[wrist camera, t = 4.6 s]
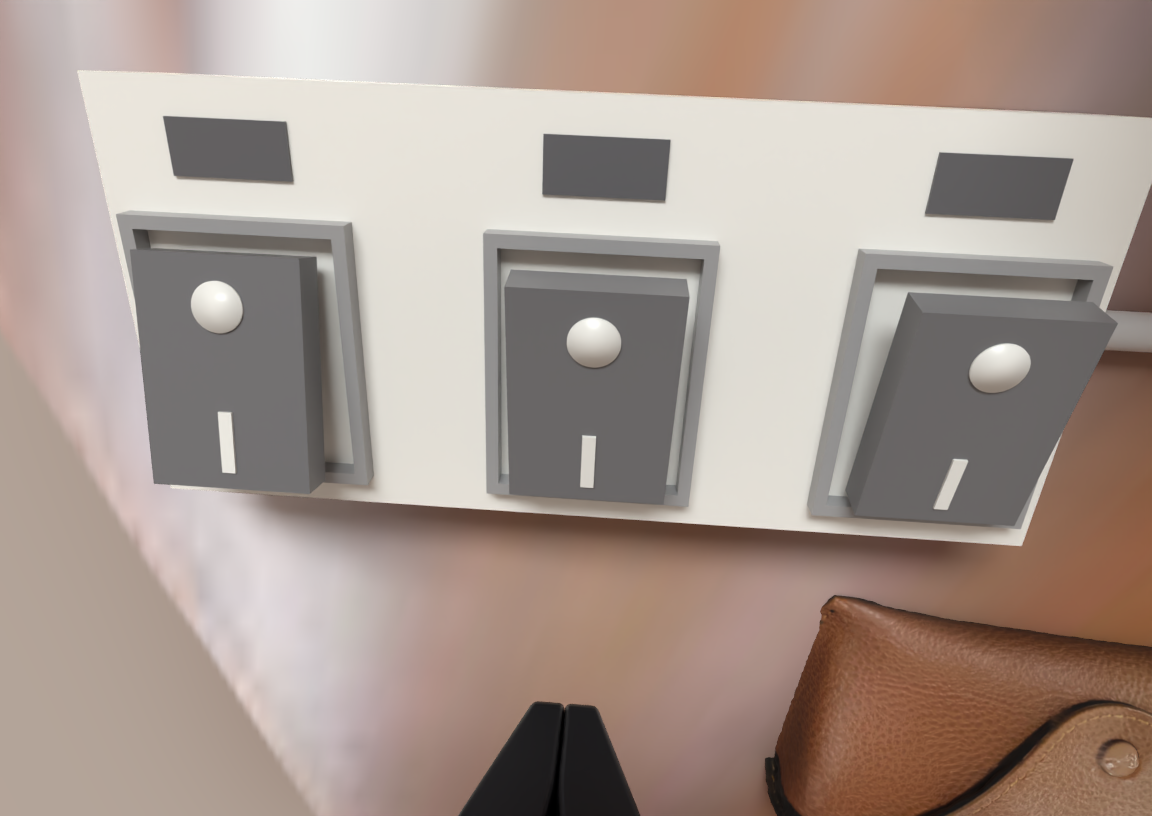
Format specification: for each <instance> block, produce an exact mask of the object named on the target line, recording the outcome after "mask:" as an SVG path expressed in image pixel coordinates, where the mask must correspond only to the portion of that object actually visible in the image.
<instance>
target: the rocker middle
mask: <svg viewBox="0 0 1152 816" xmlns="http://www.w3.org/2000/svg"><path fill="white" fill-rule="evenodd" d="M504 297H505V337H506V378H507V419H508V460H509V494H513V495H527V496H542V497H557V498H572V499H587V500H602V501H617V502H632V503H647V504H662V505H664V498H665V490H666V482H667V474H668V466H669V458H670V450H671V442H672V434H673V426H674V418H675V410H676V402H677V394H678V386H679V378H680V370H681V362H682V354H683V346H684V338H685V330H686V322H687V315H688V307H689V299H690V296H689V290H688V284H687V279H677V278H659V277H641V276H622V275H604V274H586V273H567V272H549V271H531V270H512V269H511V270H510V273H509V276H508V278H507V281H506V283H505V286H504Z"/></svg>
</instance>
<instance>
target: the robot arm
mask: <svg viewBox="0 0 1152 816" xmlns="http://www.w3.org/2000/svg"><path fill="white" fill-rule="evenodd" d="M458 816H640V814H639V811H638V809H637V806H636V804H635V801H634V798H633V796H632V793H631V791H630V788H629V786H628V783H627V781H626V778H625V776H624V773H623V771H622V768H621V766H620V763H619V761H618V758H617V756H616V753H615V751H614V748H613V746H612V743H611V741H610V738H609V736H608V733H607V731H606V728H605V725H604V723H603V720H602V718H601V715H600V713H599V711H598V709H597V708H596V707H595V706H591V705H578V704H569V705H567V706H566V708H565V710H564V706H563V705H562V704H560V703H552V702H539V701H538V702H534V703H533V704H532V705H531V706H530V707H529V709H528V710H527V712H526V713H525V715H524V716H523V718H522V719H521V721H520V722H519V724H518V725H517V727H516V728H515V730H514V731H513V733H512V735H511V736H510V738H509V739H508V741H507V742H506V744H505V745H504V747H503V748H502V750H501V751H500V753H499V754H498V756H497V757H496V759H495V760H494V762H493V763H492V765H491V767H490V768H489V770H488V771H487V773H486V774H485V776H484V777H483V779H482V780H481V782H480V783H479V785H478V786H477V788H476V789H475V791H474V792H473V794H472V795H471V797H470V799H469V800H468V802H467V803H466V805H465V806H464V808H463V809H462V811H461V812H460V814H459V815H458Z"/></svg>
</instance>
